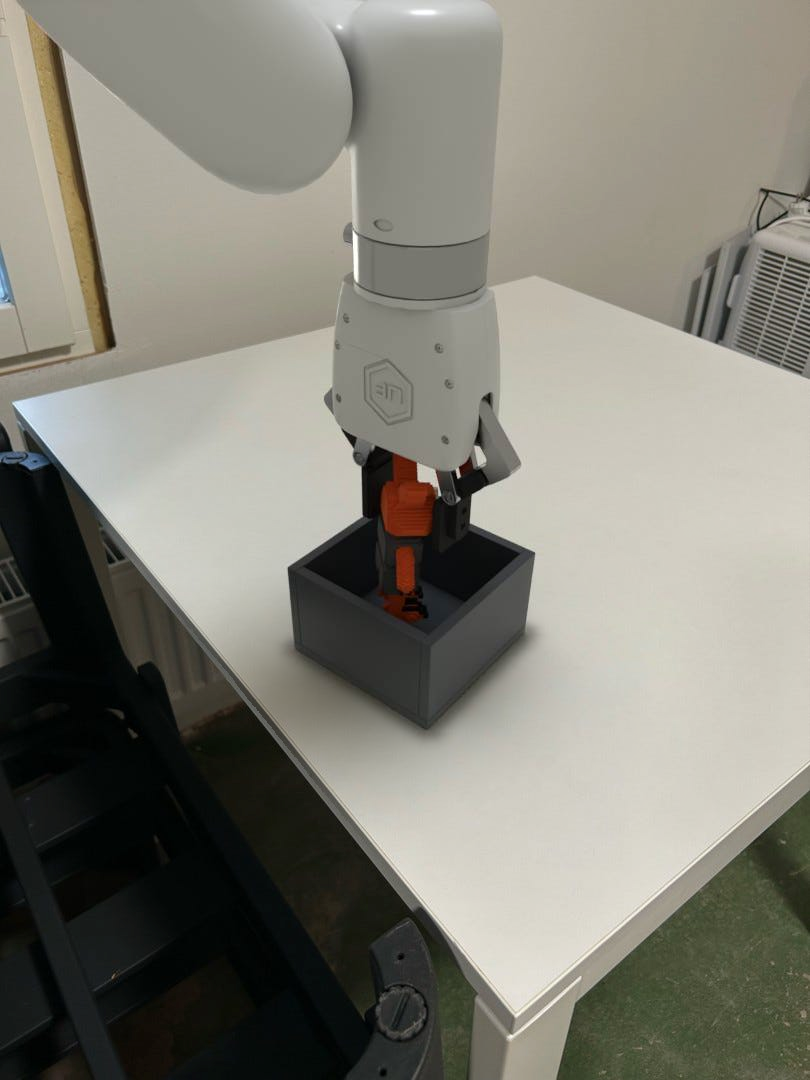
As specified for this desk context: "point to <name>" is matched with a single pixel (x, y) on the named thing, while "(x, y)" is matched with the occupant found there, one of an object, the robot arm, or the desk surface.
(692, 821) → the desk surface
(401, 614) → the toy animal
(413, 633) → the bin
